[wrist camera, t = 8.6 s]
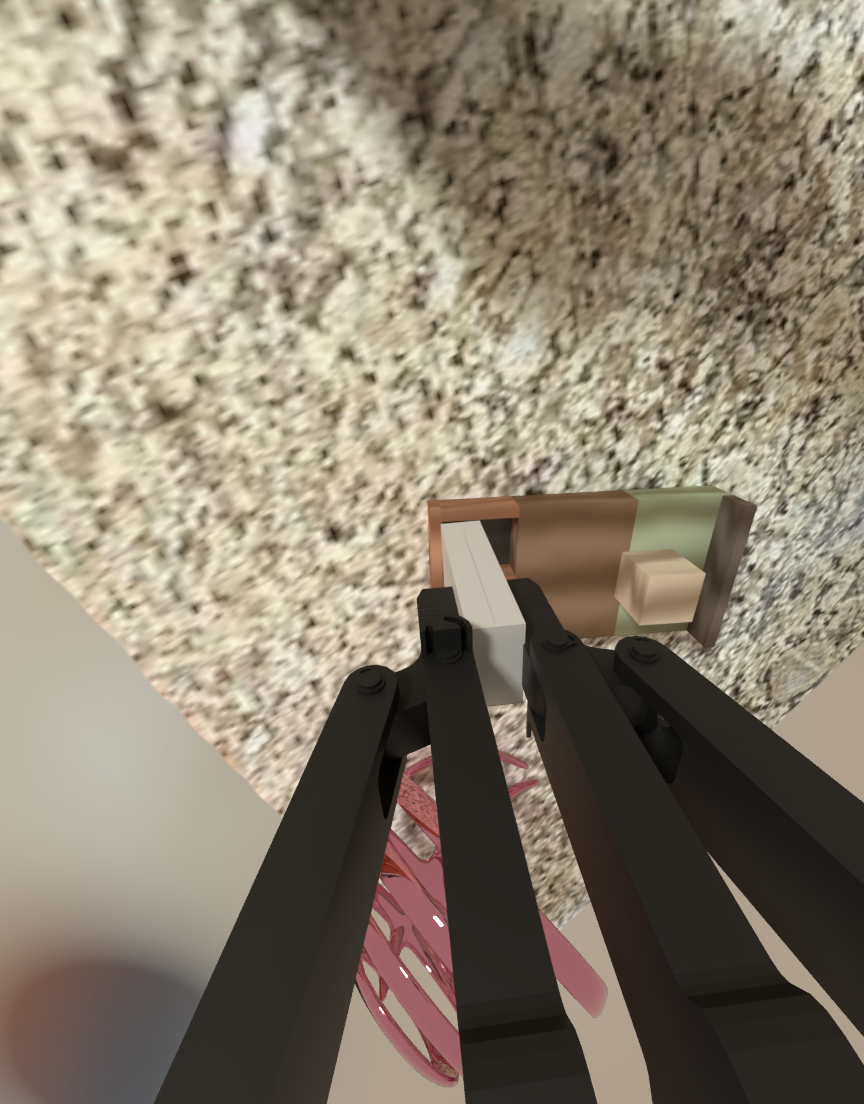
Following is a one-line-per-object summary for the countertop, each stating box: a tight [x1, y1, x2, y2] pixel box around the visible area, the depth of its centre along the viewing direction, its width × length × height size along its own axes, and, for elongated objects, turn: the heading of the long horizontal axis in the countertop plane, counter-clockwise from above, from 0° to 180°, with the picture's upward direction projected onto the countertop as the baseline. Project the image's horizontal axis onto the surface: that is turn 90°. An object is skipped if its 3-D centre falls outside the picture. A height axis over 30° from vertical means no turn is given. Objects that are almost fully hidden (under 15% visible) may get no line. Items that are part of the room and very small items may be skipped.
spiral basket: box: [355, 751, 608, 1087], centre depth 48 cm, size 28×28×27 cm
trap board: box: [428, 485, 757, 648], centre depth 43 cm, size 15×28×6 cm, turn 92°
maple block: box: [614, 549, 706, 625], centre depth 41 cm, size 5×5×5 cm
